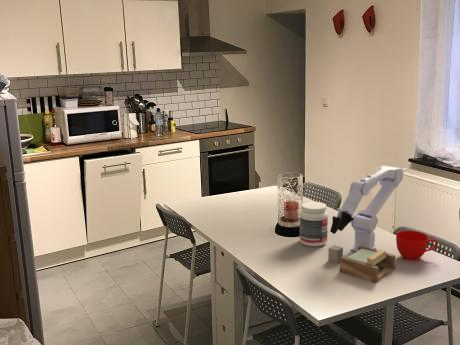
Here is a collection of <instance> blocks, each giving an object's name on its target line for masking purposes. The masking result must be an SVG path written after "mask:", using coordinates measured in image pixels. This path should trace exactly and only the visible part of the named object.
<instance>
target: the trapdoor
mask: <svg viewBox="0 0 460 345" xmlns="http://www.w3.org/2000/svg"><path fill="white" fill-rule="evenodd" d="M386 253H387V252H386V250H384V249H378V251H377V252H373V251H369V250H366V249H360V250H359V251H354V253H352V254H350V255H348V256H347V257H346V258H350V259H353V260H357V261H360V262H364V263H367V264H370V265H374V266H376V265H375V264H377V263H378V262H380V261H381V260H383V259H384V258H386Z"/></svg>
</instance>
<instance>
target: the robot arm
mask: <svg viewBox="0 0 460 345" xmlns="http://www.w3.org/2000/svg"><path fill="white" fill-rule="evenodd" d="M403 179H404V170H403V168H402V167H395V166H388V165H384V164H383V165H381V166H379V168H378V170H377V171H376V172H375V173H373V174H370V173H368V174H367V175H366V176H365V177H363V178H360V180H354V181H353V182H351V183H350V188H349V190H348V195H347V197H345V200H344V202H343V204H342V206H341V207H338V208H336V211H337V215H336V216H335V215H333V216H332V218H331V219H332V223H331V226H330V230H329V232H330V233H332V234H333V235H335V234H336V233H337V232H338V231H340V232H343V230H345V228H346V227H347V226H348V225H349V223H350V224H351V228H353V231H354V246H353V247H350V250H351V251H353V252H357V251H358V247H359V246H363V247H367V248H371V249H374V250H376V249H377V246H375V242H376V241H375V240H376V239H375V238H376V234H375V230H376V228H377V225H378V223H379V220H378V216H377V215H378V214H379V212H380V211H381V209H382V208H383V207H384V205H385V204H386V202H387V201H388V199H389V198H390V197H391V195H393V193H394V190H395V189H396V188H398V186H399V185H400V184H401V182H402V181H403ZM378 183H379V184H378ZM377 185H380V186H381V187H380V189H379V190H378V191H377V193H376V194H375V196H374V197H373V199H371V202H370V203H369V204H368V205H367V206H366V208H365V209H362V210H359V211H357V213H355V212H356V210H357V208H358V206H359V204H360V203H361V201H362V199H363V197H364V196H365V197H366V196H368V195H369V193H370V191H371V190H372V189H373V188H375V187H376V186H377ZM354 213H355V214H354Z"/></svg>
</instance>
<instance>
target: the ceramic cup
mask: <svg viewBox="0 0 460 345" xmlns="http://www.w3.org/2000/svg"><path fill="white" fill-rule="evenodd" d="M395 236H396V237H395V242H396V248H397V251H398V252H399V255H400V256H401V257H402V258H403V259H404V260H407V261H411V262H412V261H418V260H420V259H421V257H423V256H424V254H425V253H427V252H430V251H433V250H435V249H436V248H437V246H438V244H439V242H438V241H437V239H435V238H434V239H433V238H430V239H429V236H428V235H427V234H426V233H425V232H424V233H423V232H420V231H417V230H416V231H415V230H403V231H402V230H401V231H398V232H397V233H396V235H395ZM431 242H435V244H434V246H433V247H431V248H428V245H429V243H431Z"/></svg>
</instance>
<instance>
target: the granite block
mask: <svg viewBox="0 0 460 345" xmlns="http://www.w3.org/2000/svg"><path fill="white" fill-rule="evenodd" d="M327 253H328V262H330V263H333V264H340V258H341V257H342V256H343V257H344V247H342V246H340V245H335V244H333V245H332V246H330V247H328V252H327Z"/></svg>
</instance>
